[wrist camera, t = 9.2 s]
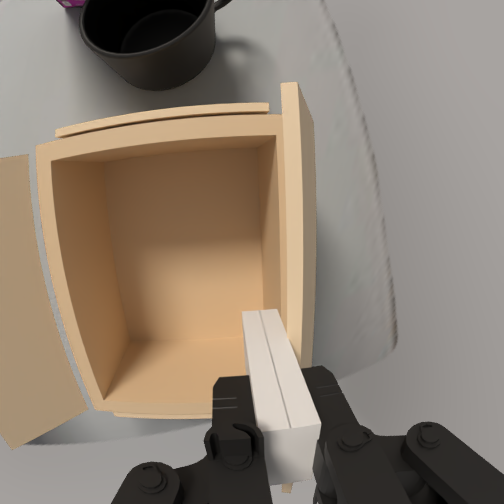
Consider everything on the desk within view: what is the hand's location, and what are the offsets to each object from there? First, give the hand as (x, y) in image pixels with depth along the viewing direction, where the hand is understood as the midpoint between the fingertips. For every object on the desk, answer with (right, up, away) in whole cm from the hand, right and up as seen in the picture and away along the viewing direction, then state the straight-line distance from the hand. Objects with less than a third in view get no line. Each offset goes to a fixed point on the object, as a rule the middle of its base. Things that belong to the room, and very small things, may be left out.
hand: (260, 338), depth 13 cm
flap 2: (+2, +1, +1) cm, 3 cm away
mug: (-7, +23, +10) cm, 26 cm away
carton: (-6, +4, +15) cm, 16 cm away
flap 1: (-16, 0, +1) cm, 16 cm away
